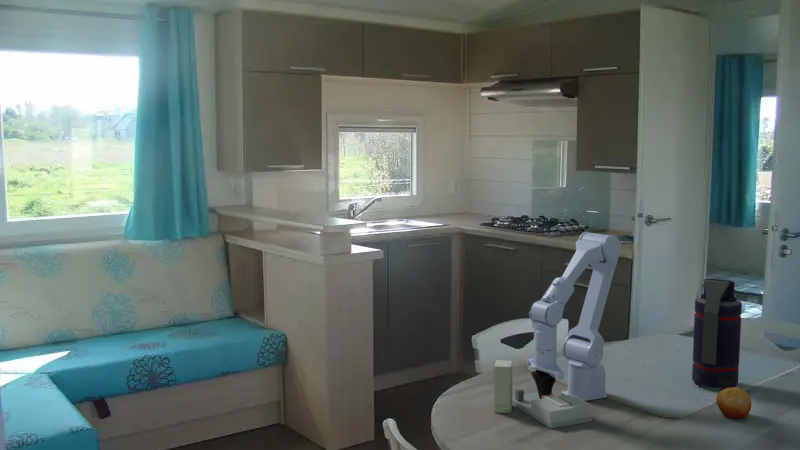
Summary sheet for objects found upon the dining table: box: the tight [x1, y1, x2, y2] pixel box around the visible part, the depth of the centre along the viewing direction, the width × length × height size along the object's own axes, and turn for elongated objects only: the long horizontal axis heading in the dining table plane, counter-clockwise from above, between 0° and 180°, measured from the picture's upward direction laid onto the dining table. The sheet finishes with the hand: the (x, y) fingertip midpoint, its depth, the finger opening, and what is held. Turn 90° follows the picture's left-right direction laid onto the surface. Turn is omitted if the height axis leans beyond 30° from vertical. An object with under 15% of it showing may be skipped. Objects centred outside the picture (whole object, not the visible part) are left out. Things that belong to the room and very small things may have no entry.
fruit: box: [715, 386, 752, 419], centre depth 196 cm, size 8×8×8 cm
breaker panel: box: [512, 388, 593, 429], centre depth 201 cm, size 12×21×4 cm, turn 22°
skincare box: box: [493, 359, 513, 414], centre depth 201 cm, size 6×4×12 cm
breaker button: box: [542, 393, 570, 407], centre depth 197 cm, size 3×8×3 cm, turn 22°
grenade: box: [691, 278, 743, 391], centre depth 216 cm, size 14×12×30 cm
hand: (544, 399), depth 202 cm, fingers closed
